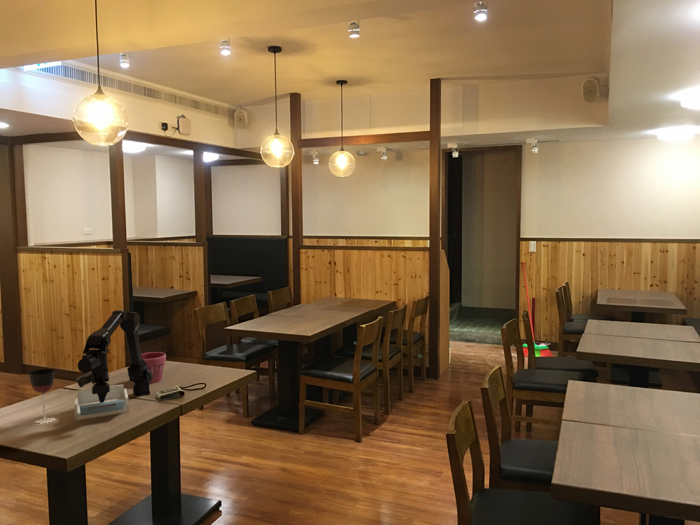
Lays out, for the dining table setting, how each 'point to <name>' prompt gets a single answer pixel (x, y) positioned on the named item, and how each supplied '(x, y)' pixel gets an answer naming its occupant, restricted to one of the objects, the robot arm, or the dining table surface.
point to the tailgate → (101, 407)
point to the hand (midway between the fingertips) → (101, 403)
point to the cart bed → (89, 398)
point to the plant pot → (155, 364)
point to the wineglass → (42, 387)
